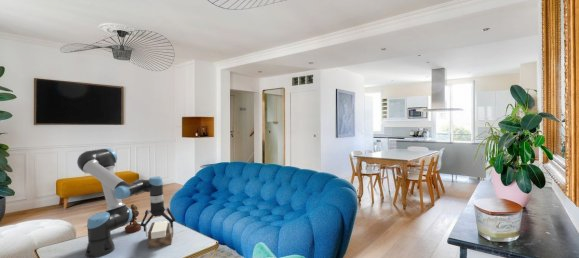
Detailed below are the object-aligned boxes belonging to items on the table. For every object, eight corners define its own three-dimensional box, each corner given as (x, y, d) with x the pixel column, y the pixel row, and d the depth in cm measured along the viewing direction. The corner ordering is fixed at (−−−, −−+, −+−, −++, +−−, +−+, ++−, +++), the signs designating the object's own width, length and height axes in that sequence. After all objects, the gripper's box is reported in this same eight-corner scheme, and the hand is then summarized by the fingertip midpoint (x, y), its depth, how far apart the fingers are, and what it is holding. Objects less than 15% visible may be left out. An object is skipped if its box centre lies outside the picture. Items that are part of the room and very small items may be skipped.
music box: (146, 228, 209) (143, 203, 206) (133, 235, 199) (129, 209, 196) (132, 225, 215) (129, 201, 212) (118, 232, 205) (115, 206, 202)
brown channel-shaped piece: (148, 248, 177) (147, 232, 177) (152, 236, 194) (152, 222, 194) (171, 244, 182) (170, 229, 181) (173, 233, 199) (172, 219, 198)
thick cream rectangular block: (151, 238, 172) (151, 232, 172) (155, 228, 189) (154, 222, 189) (165, 236, 175) (164, 230, 175) (167, 226, 192) (167, 220, 192)
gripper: (133, 205, 167) (135, 240, 168) (177, 200, 175) (179, 233, 176) (136, 202, 174) (138, 235, 175) (178, 197, 182) (180, 228, 183)
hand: (159, 234), depth 176 cm, fingers open, 13 cm apart
